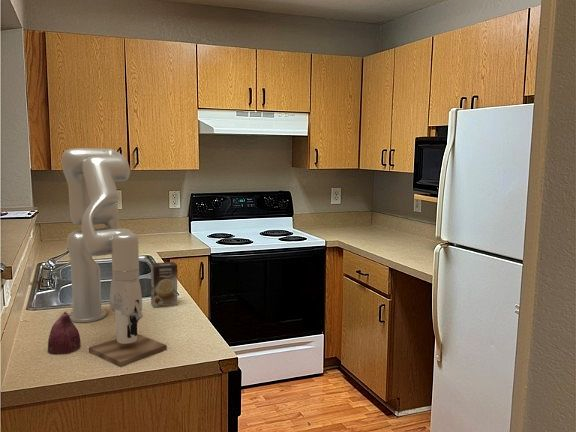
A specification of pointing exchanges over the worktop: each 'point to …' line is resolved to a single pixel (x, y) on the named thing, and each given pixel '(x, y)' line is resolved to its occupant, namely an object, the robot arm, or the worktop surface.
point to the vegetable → (63, 336)
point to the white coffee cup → (123, 328)
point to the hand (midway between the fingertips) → (127, 334)
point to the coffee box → (163, 284)
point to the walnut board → (127, 350)
